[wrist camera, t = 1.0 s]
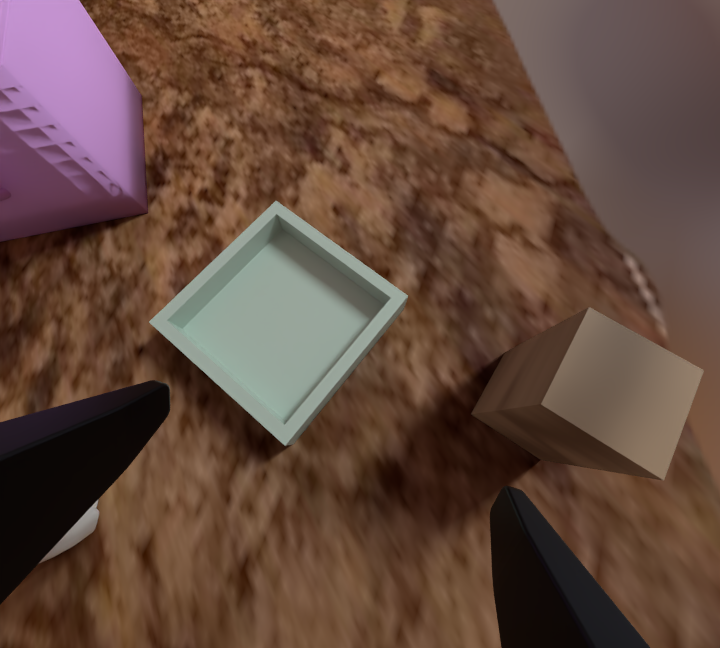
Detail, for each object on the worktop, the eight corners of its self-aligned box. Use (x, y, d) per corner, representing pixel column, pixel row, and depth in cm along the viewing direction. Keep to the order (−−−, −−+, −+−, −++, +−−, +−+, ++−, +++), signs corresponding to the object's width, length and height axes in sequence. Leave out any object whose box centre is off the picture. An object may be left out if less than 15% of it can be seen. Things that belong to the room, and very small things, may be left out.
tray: (403, 309, 24) (408, 296, 22) (293, 444, 21) (285, 445, 19) (283, 221, 26) (276, 200, 24) (170, 333, 24) (148, 322, 21)
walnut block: (572, 393, 22) (703, 370, 14) (540, 459, 21) (663, 480, 13) (504, 352, 23) (589, 307, 15) (470, 414, 22) (540, 404, 13)
